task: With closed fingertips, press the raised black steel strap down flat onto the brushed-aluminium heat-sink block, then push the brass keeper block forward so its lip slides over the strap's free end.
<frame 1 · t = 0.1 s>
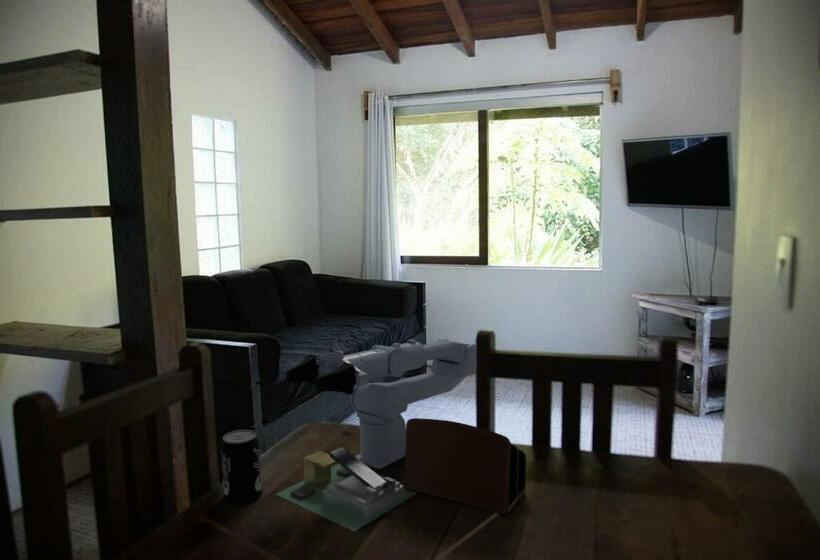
hand: (301, 380, 110), 22 cm above the table, tool horizontal, fingers open, 7 cm apart
board: (346, 496, 112), on the table
strap: (358, 469, 109), point 6 cm above the table, hinge at 18.0°
keeper: (322, 471, 115), point 3 cm above the table, slide at 0.0 cm, touching board
beverage can: (243, 500, 112), on the table
letter holder: (464, 492, 113), on the table, touching board
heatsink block: (364, 501, 109), resting on board
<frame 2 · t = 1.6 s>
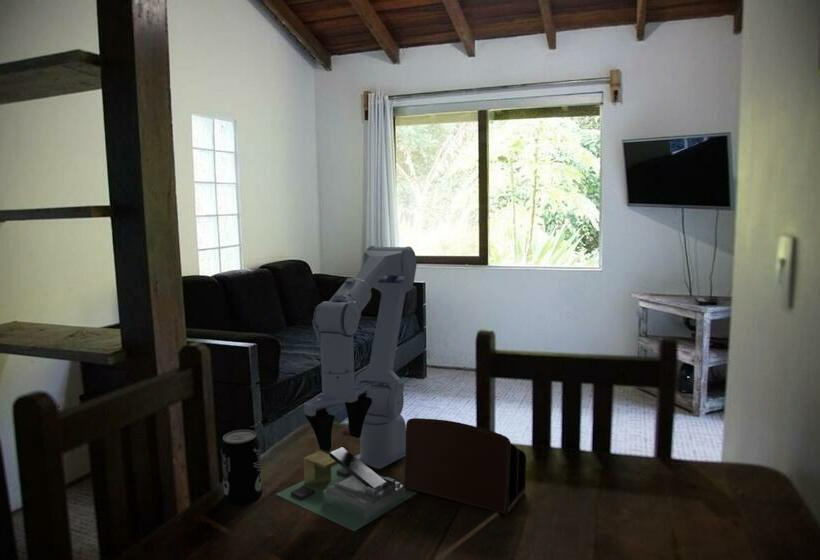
hand: (340, 442, 111), 10 cm above the table, tool pointing down, fingers open, 7 cm apart
nothing on the table moved.
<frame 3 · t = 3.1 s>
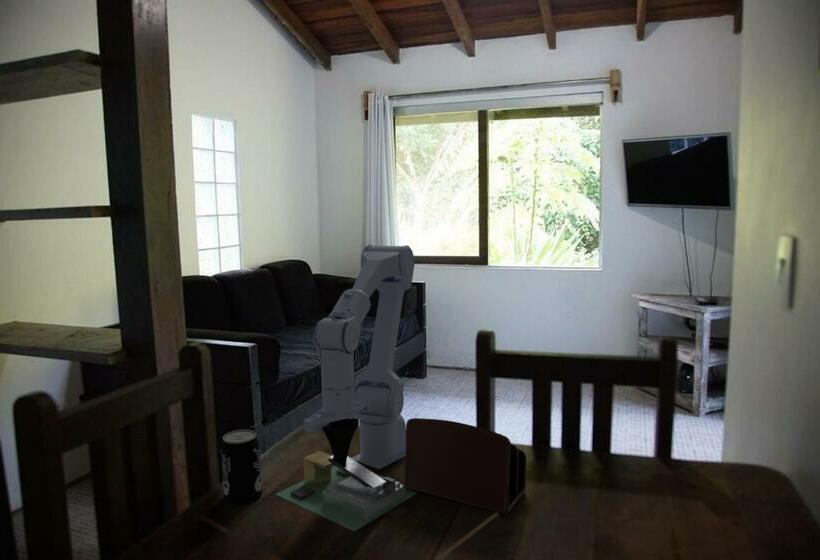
hand: (340, 458, 112), 7 cm above the table, tool pointing down, fingers closed, pressing on strap
strap: (358, 472, 109), point 6 cm above the table, hinge at 12.8°, touching gripper
everything else where it was.
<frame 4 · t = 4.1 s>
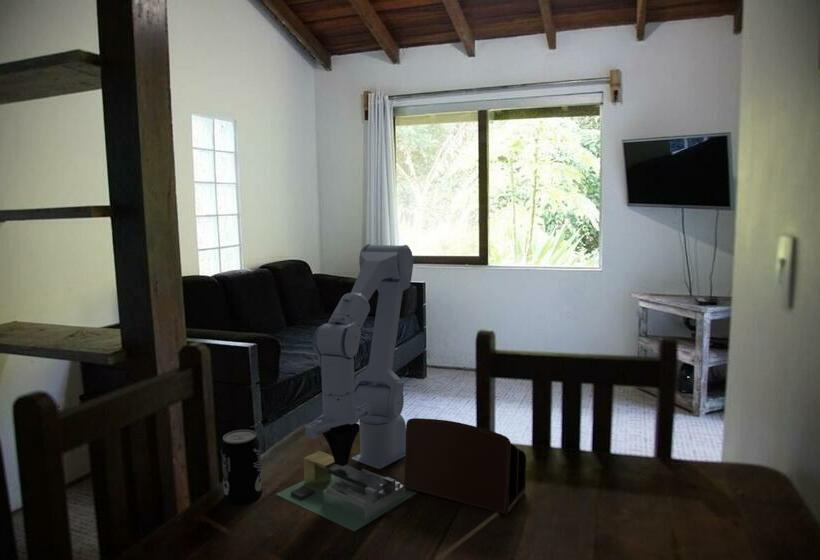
hand: (341, 463, 112), 6 cm above the table, tool pointing down, fingers closed
strap: (357, 477, 110), point 5 cm above the table, hinge at 1.4°
everything else where it was.
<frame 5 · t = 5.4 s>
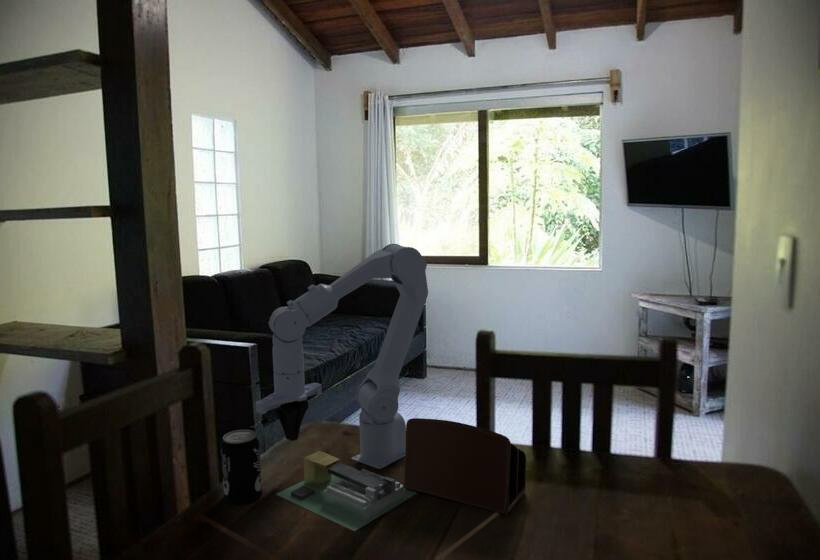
hand: (291, 438, 120), 7 cm above the table, tool pointing down, fingers closed
nothing on the table moved.
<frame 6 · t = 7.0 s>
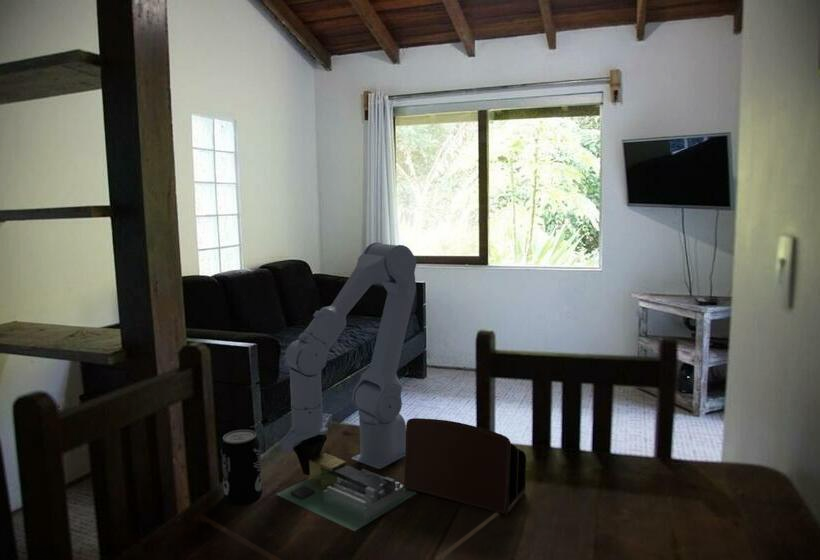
hand: (309, 473, 118), 2 cm above the table, tool pointing down, fingers closed
keeper: (328, 473, 114), point 3 cm above the table, slide at 1.6 cm, touching board, gripper
everything else where it was.
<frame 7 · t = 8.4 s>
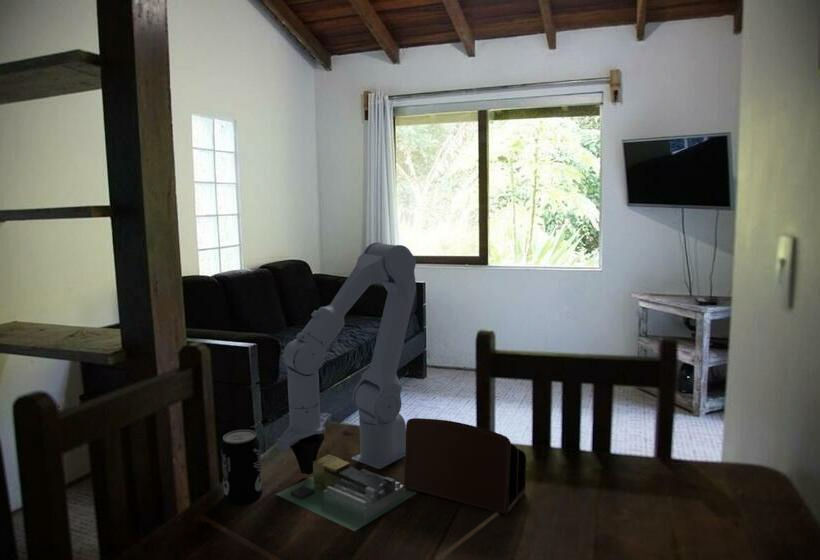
hand: (307, 472, 118), 2 cm above the table, tool pointing down, fingers closed
keeper: (332, 475, 114), point 3 cm above the table, slide at 2.6 cm, touching board
everything else where it was.
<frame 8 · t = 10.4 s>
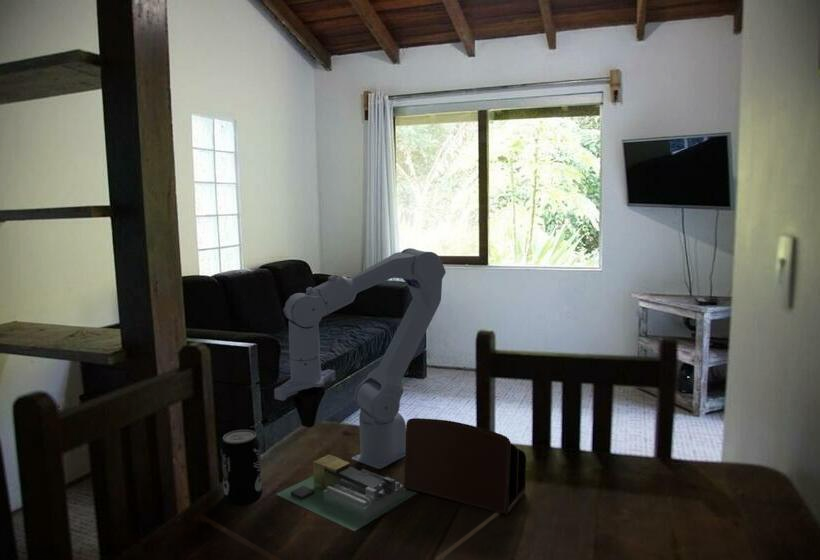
hand: (308, 425, 120), 10 cm above the table, tool pointing down, fingers closed
nothing on the table moved.
at the end: strap at +1° (first picture: +18°); keeper slide at 2.6 cm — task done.
